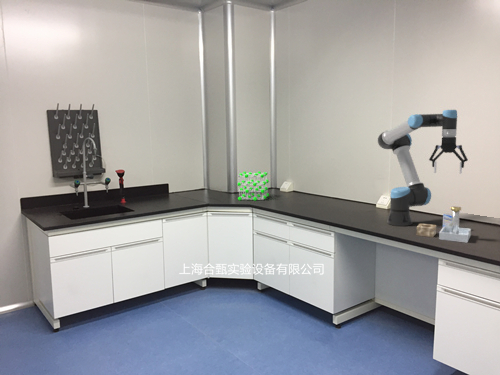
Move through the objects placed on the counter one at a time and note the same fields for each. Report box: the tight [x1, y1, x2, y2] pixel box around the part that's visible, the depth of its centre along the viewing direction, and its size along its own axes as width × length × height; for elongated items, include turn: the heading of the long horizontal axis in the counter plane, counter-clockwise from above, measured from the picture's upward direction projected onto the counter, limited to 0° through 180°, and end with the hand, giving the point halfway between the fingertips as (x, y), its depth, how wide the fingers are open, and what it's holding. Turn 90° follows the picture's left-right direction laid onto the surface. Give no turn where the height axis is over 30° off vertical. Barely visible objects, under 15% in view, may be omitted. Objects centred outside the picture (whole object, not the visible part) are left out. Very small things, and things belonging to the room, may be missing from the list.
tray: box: [438, 226, 472, 243], centre depth 226 cm, size 14×16×4 cm
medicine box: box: [442, 213, 452, 228], centre depth 245 cm, size 8×4×9 cm, turn 24°
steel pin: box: [450, 206, 462, 234], centre depth 225 cm, size 5×5×16 cm
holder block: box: [416, 223, 437, 238], centre depth 234 cm, size 9×9×5 cm
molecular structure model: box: [237, 171, 270, 201], centre depth 371 cm, size 24×25×24 cm
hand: (447, 173), depth 237 cm, fingers open, 13 cm apart
